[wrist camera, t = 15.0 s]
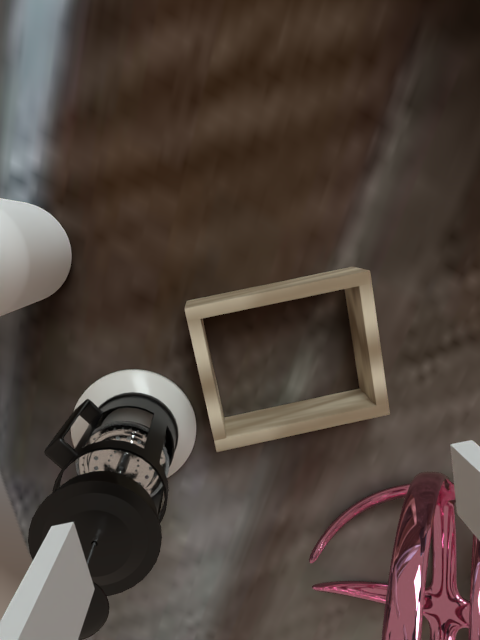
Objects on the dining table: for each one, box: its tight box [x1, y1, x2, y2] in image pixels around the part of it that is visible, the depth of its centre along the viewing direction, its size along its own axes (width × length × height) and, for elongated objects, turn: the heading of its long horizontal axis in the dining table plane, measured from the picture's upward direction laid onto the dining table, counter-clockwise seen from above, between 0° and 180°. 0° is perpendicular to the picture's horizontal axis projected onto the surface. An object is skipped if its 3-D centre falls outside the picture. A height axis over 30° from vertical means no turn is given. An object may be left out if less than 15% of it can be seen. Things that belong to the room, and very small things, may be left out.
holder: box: [185, 267, 390, 452], centre depth 45 cm, size 14×17×5 cm
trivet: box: [71, 369, 196, 478], centre depth 48 cm, size 13×13×1 cm
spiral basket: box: [309, 472, 480, 640], centre depth 40 cm, size 28×28×27 cm
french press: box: [28, 392, 179, 640], centre depth 36 cm, size 12×9×23 cm
